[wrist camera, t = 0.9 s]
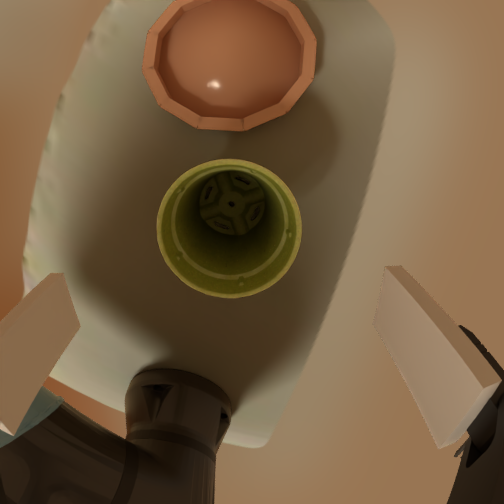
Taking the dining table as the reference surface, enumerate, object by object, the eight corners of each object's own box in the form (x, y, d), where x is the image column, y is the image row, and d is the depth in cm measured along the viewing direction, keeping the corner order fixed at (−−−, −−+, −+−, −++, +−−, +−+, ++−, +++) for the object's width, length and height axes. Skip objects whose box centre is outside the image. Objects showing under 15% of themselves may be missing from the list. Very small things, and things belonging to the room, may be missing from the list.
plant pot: (301, 177, 26) (327, 196, 18) (258, 265, 29) (264, 316, 21) (204, 136, 24) (186, 135, 16) (168, 229, 27) (140, 269, 19)
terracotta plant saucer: (249, 161, 25) (249, 163, 23) (124, 84, 22) (113, 81, 19) (337, 47, 21) (346, 39, 18) (213, -25, 17) (210, -37, 15)
